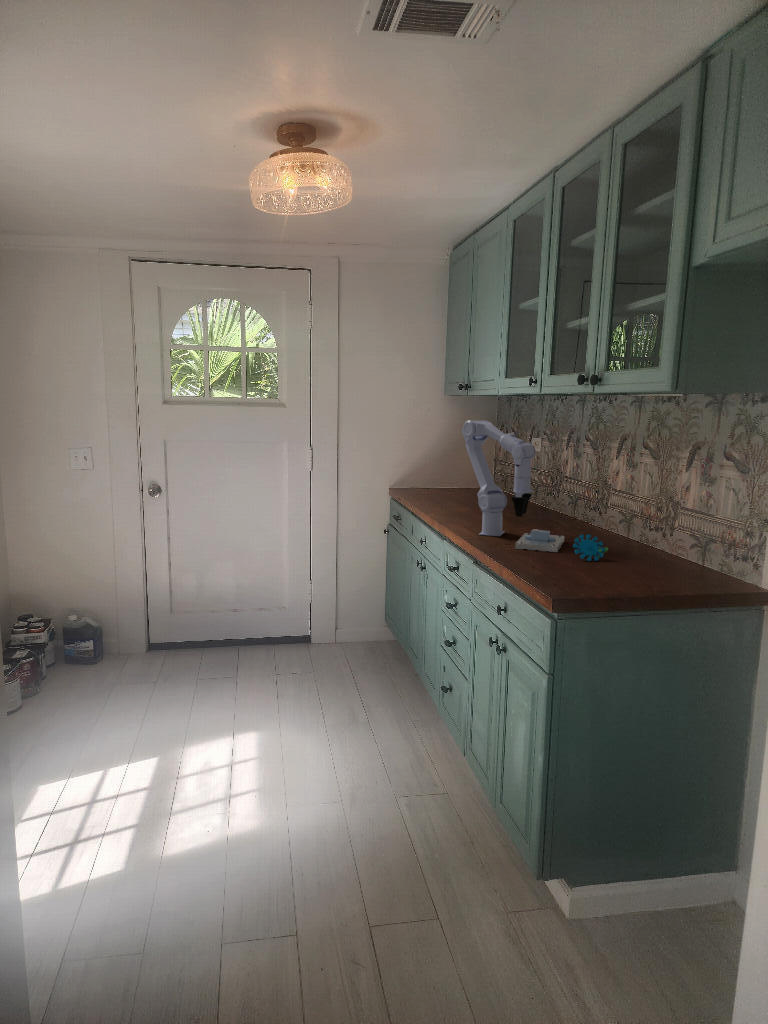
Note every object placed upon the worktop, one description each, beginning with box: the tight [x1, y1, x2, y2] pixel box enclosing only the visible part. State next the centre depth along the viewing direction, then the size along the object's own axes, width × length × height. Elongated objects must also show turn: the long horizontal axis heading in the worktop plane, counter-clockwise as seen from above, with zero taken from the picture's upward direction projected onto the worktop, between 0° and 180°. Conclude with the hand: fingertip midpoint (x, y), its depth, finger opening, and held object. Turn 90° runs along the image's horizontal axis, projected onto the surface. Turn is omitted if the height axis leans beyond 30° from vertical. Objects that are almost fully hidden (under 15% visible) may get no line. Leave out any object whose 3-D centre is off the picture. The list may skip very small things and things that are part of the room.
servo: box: [525, 528, 555, 542], centre depth 238 cm, size 4×10×5 cm, turn 69°
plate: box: [514, 532, 565, 553], centre depth 238 cm, size 20×14×2 cm
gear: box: [572, 533, 609, 562], centre depth 218 cm, size 11×6×10 cm
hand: (520, 514), depth 244 cm, fingers open, 7 cm apart
